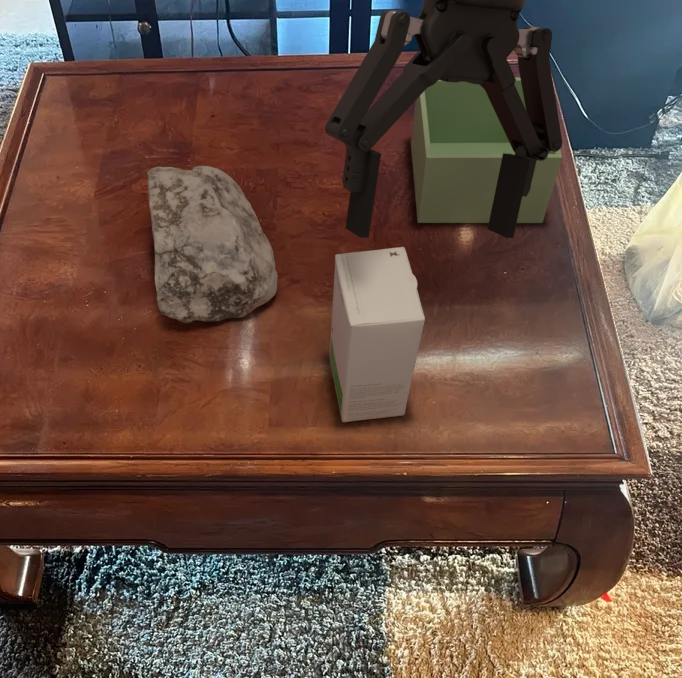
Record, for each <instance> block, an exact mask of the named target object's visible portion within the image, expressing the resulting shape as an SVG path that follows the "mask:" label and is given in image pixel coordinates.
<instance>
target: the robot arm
mask: <svg viewBox="0 0 682 678" xmlns="http://www.w3.org/2000/svg"><path fill="white" fill-rule="evenodd" d="M526 2H527V0H422V7H421V8H422V9H421V11H420V13H419V15H418V16H417V17H414V16H410V14H409V13H408V12H406V11H400V10H391V9H390V10H388V9H387V10H384V11H382V13H381V14H380V17H379V20H378V24H377V29H376V32H375V37H374V41H373V43H372V45H370V48H369V50H368V52H366V54H365V56H364V58H363V60H362V62H361V63H360V64H359V67H358V68H357V70H356V72H355V74H354V75H353V76H352V79H351V80H350V82H349V84H348V86H347V87H346V89H345V90H344V92H343V94H342V95H341V98H340V100H339V101H338V103H337V105H336V106H335V107H334V110H333V111H332V113H331V115H330V117H329V118H328V120H327V122H326V124H325V126H324V131H325V134H326V135H327V136H330V137H332V138H334V139H336V140H337V141H340V142H342V143H343V144H344V146H345V150H346V151H345V157H344V158H345V159H344V164H343V165H344V166H343V174H342V181H341V182H342V186H343V189H344V190H346V191H348V192H349V200H348V206H347V213H346V214H347V215H346V221H345V222H346V224H345V229H346V230H348V231H349V232H350V233H352V234H353V235H355V236H357V237H358V238H361V239H363V238H364V239H365V238H366V239H369V238H370V232H371V231H370V230H371V225H372V224H371V223H372V218H373V211H374V204H375V198H376V191H377V183H378V178H379V177H378V176H379V171H380V164H381V158H382V153H380V152H379V151H376V150H375V149H373V147H374V146H375V145H376V144H377V143H378V142H379V141H380V140H381V139H382V138H383V137H384V135H385V134H387V132H388V131H389V130H390V129H391V128H392V127H393V126H394V124H396V122H397V121H398V120H399V119H400V118H401V117H402V116H403V115H404V114H405V113H406V112H407V111H408V109H409V108H410V107H411V106H412V105H414V104H415V103H416V99H417V98H418V97H419V96H420V95H421V94H422V93H423V92H424V91H425V90H426V89H427V88H428V87H430V86H432V85H434V84H435V83H436V82H437V81H438V80H441V81H446V82H454V83H457V82H467V83H471V84H479V85H480V86H481V87H482V88H484V90H485V91H486V94H487V96H488V98H489V100H490V102H491V104H492V106H493V108H494V111H495V113H496V115H497V117H498V119H499V121H500V123H501V125H502V128H503V130H504V132H505V134H506V136H507V138H508V140H509V142H510V145H511V147H512V149H513V151H514V152H515V155H513V154H506V153H503V156H502V161H501V166H500V171H499V176H498V181H497V185H496V190H495V195H494V200H493V205H492V210H491V215H490V219H489V223H487V230H488V231H491V232H493V233H495V234H497V235H499V236H501V237H503V238H505V239H513V238H514V236H515V232H516V228H517V224H518V223H517V219H518V214H519V210H520V205H521V200H522V196H525V197H527V195H528V193H529V191H530V188H531V183H532V178H533V174H534V170H535V165H536V161H537V160H539V161H543V160H545V159H546V158H547V156H548V153H549V152H550V151H553V152H556V151H558V150H561V148H562V147H563V137H562V131H561V124H560V118H559V111H558V105H557V100H556V93H555V86H554V81H553V75H552V68H551V62H550V55H551V48H552V40H553V32H552V30H551V29H550V28H547V27H540V26H539V27H538V26H527V25H526V26H524V27H523V28H522V29H520V28H519V23H518V21H519V20H518V19H519V15H520V14H521V12H522V10H523V8H524V7H525V5H526ZM413 37H414V40H415V42H416V44H417V47H418V49H419V50H418V51H417V52H416V53H415V54H414V55H413V56H412V58H411V59H410V60H409V61H408V62H407V63H406V64H405V65H404V66H403V69H402V72H401V73H400V74H399V76H398V77H397V78H396V79H395V80H394V81H393V82H392V83H391V84H390V86H389V87H388V88H387V89H386V90H385V91H384V92H383V93H382V94H381V95H380V96H379V97H378V98H377V100H376V101H375V102H374V100H375V98H376V97H377V96H378V93H380V90H381V89H382V87H383V85H384V83H385V81H386V80H387V78H388V77H389V75H390V74H391V72H392V70H393V68H394V67H395V65H396V63H397V62H398V60H399V58H400V56H401V54H402V51H403V49H404V47H405V46H407V45H408V44H410V42H411V41H412V40H413ZM512 52H514V53H515V55H516V56H517V67H518V72H519V77H520V79H521V84H522V90H523V95H524V101H525V106H526V109H525V107H524V105H523V102H522V100H521V98H520V96H519V93H518V91H517V89H516V87H515V84H514V83H515V82H516V79H515V78H516V77H515V75H514V72H513V70H512V68H511V66H510V63H509V61H508V57H509V56H510V55H511V53H512Z"/></svg>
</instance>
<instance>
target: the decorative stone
mask: <svg viewBox="0 0 682 678" xmlns="http://www.w3.org/2000/svg"><path fill="white" fill-rule="evenodd" d="M146 175H147V196H148V197H147V198H148V204H149V211H150V220H151V231H152V232H151V233H152V238H153V247H154V285H155V290H156V302H157V307H158V310H159V312H160V314H161V315H162V316H167V317H168V318H171V319H175V320H177V321H178V322H182V323H184V324H192V323H193V322H195V321H200V322H211V323H213V322H221V321H224V320H226V319H232V318H236V319H239V318H243V317H245V316H247V315H248V314H250V313H252V311H254V310H255V309H256V308H258V307H261V306H262V305H265V304H266V303H268V302H269V301H270V300H271V299H272V298H274V296H275V295H276V293H277V291H278V279H279V278H278V276H279V275H278V272H277V270H276V261H275V255H274V254H275V253H274V251H273V248H272V245H271V243H270V241H269V239H268V237H267V235H266V234H265V233H264V232H263V229H262V226H261V224H260V221H259V220H258V217H257V215H256V212H255V211H254V209H253V207H252V205H251V202H249V200H248V199H247V198H246V195H245V193H244V192H243V190H242V189H241V187H240V185H238V183H237V182H236V181H235V180H234V179H233V178H232V177H231V176H230V175H228V174H227V173H226V172H224V171H223V170H221V169H219V168H216V167H213V166H209V165H197V166H194V167H193V168H192V169H182V168H179V167H173V166H156V167H153V168H151V169H149V171H147V174H146Z"/></svg>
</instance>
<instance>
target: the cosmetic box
mask: <svg viewBox="0 0 682 678" xmlns="http://www.w3.org/2000/svg"><path fill="white" fill-rule="evenodd" d="M334 257H335V258H334V274H333V290H332V292H333V293H332V310H331V327H330V328H331V329H330V340H329V342H330V343H329V362H330V367H331V373H332V379H333V382H334V388H335V394H336V398H337V402H338V408H339V409H338V410H339V414H340V418H341V422H342V423H348V422H357V421H366V420H374V419H375V420H376V419H383V418H391V417H393V418H394V417H400V416H401V417H402V416H405V414H406V408H407V404H408V399H409V394H410V390H411V385H412V381H413V377H414V371H415V368H416V363H417V357H418V353H419V349H420V345H421V340H422V336H423V331H424V326H425V322H426V317H425V313H424V309H423V307H422V302H421V299H420V296H419V291H418V280H417V278H416V275H415V274H413V270H412V267H411V264H410V260H409V257H408V253H407V251H406V248H405V247H404V246H400V247H391V248H390V247H389V248H382V249H374V250H363V251H354V252H345V253H344V252H343V253H337V254H335V255H334Z"/></svg>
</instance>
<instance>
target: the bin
mask: <svg viewBox="0 0 682 678" xmlns="http://www.w3.org/2000/svg"><path fill="white" fill-rule="evenodd" d="M515 79H516V82H515V83H514V84H515V87H516V89H517V91H518V93H519V96H520V98H521V100H522V102H523V105H524V107H525V109H526V106H525V101H524V95H523V90H522V84H521V79H520V76H517V77H515ZM414 104H415V105H414V111H413V112H414V114H413V119H412V120H413V121H412V131H411V137H410V138H411V139H410V150H411V151H410V152H411V161H412V173H413V183H414V184H413V185H414V195H415V196H414V197H415V207H416V208H415V209H416V218H417V223H418V224H489V219H490V215H491V210H492V205H493V200H494V195H495V190H496V185H497V181H498V176H499V171H500V166H501V161H502V156H503V153H506V154H513V155H515V152H514V151H513V149H512V147H511V145H510V142H509V140H508V138H507V136H506V134H505V132H504V130H503V128H502V125H501V123H500V121H499V119H498V117H497V115H496V113H495V111H494V108H493V106H492V104H491V102H490V100H489V98H488V96H487V94H486V91H485V90H484V88H482V87H481V86H480V85H479V84H471V83H467V82H457V83H454V82H446V81H441V80H438V81H437V82H436V83H435V84H434V85H432V86H430V87H428V88H427V89H426V90H425V91H424V92H423V93H422V94H421V95H420V96H419V97H418V98H417V99H416V101H415V102H414ZM562 160H563V153H562V151H561V149H560V150H558V151H556V152H553V151H550V152H549V153H548V156H547V158H546V159H545V160H543V161H539V160H537V161H536V165H535V170H534V174H533V178H532V183H531V188H530V191H529V193H528V195H527V197H525V196H522V200H521V205H520V210H519V214H518V219H517V223H516V224H543V223H544V220H545V217H546V216H545V215H546V213H547V209H548V206H549V204H550V199H551V197H552V193H553V190H554V187H555V183H556V180H557V176H558V174H559V170H560V167H561V163H562Z"/></svg>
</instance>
